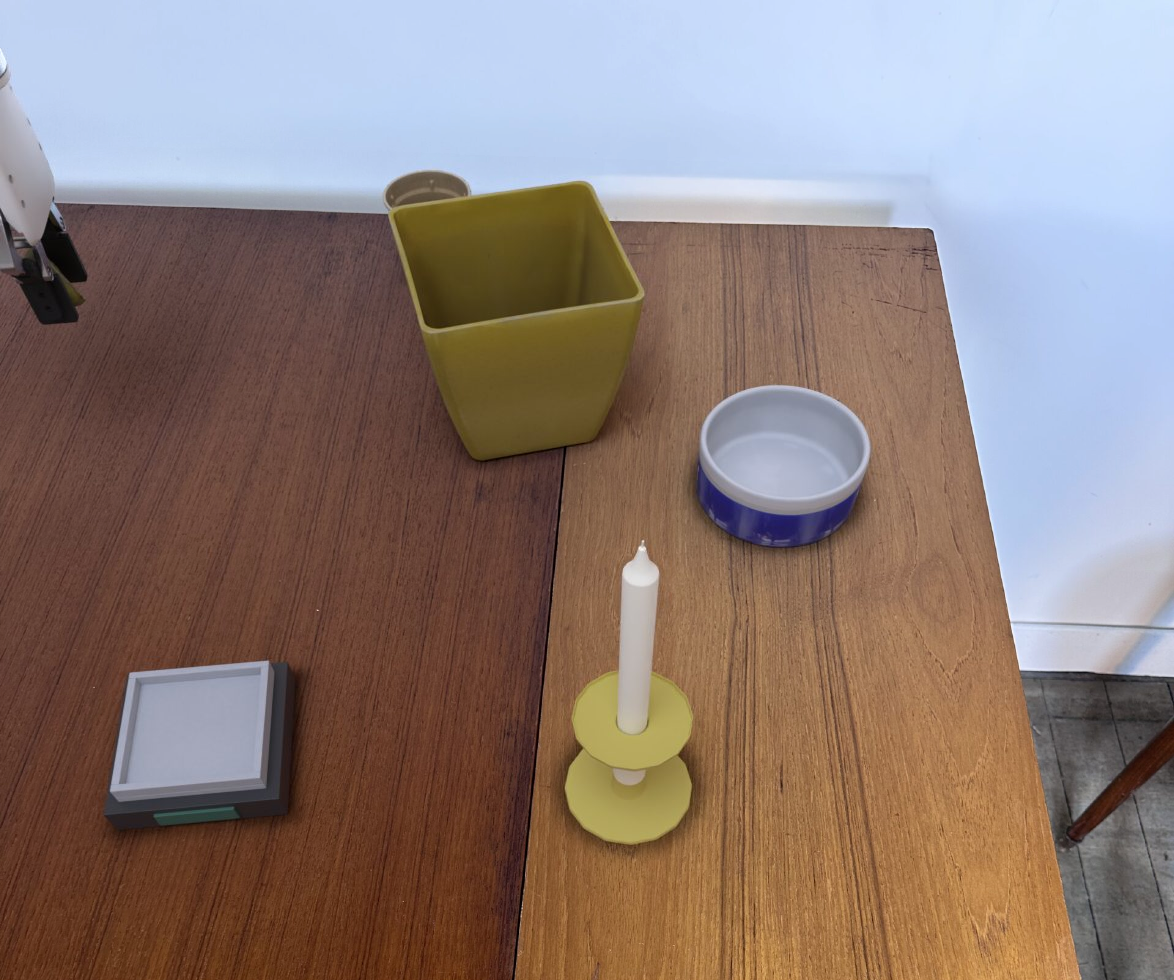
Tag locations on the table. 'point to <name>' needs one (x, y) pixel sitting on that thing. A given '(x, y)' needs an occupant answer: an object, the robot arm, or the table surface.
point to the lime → (70, 288)
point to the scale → (202, 745)
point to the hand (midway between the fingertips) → (64, 299)
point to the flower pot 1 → (424, 188)
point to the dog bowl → (781, 465)
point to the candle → (631, 731)
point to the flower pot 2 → (521, 312)
